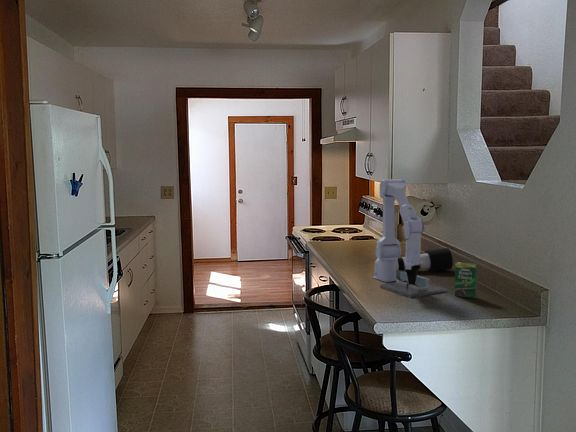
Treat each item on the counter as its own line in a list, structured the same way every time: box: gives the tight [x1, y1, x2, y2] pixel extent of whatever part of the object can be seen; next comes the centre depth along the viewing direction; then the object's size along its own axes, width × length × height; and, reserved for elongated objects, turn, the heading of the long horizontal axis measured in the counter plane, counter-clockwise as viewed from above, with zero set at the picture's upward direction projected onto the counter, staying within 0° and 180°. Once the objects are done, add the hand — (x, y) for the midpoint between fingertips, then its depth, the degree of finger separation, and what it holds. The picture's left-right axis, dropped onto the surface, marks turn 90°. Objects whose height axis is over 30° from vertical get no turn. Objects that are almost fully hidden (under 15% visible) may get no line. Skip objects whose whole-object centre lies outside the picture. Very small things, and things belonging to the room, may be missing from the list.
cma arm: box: [396, 270, 430, 287], centre depth 217 cm, size 18×3×3 cm, turn 30°
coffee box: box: [454, 261, 478, 299], centre depth 207 cm, size 8×3×13 cm, turn 58°
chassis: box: [379, 279, 448, 299], centre depth 218 cm, size 18×19×3 cm
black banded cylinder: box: [396, 247, 454, 273], centre depth 250 cm, size 10×34×10 cm, turn 92°
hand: (411, 284), depth 211 cm, fingers closed
